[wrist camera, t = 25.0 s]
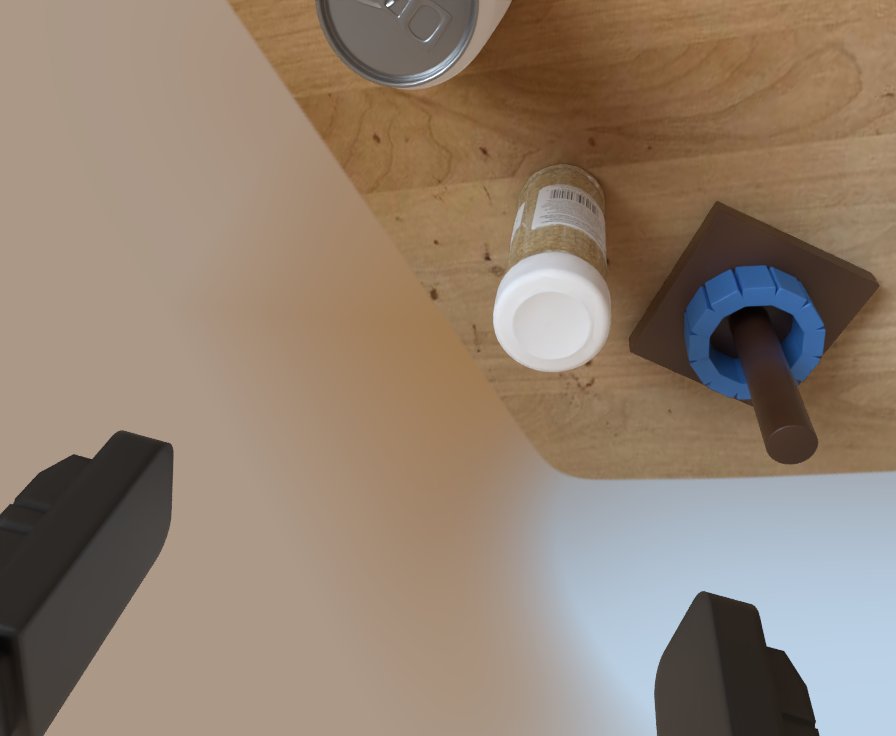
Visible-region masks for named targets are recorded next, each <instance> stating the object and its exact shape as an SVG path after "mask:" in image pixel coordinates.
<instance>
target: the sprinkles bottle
mask: <svg viewBox="0 0 896 736" xmlns="http://www.w3.org/2000/svg"><path fill="white" fill-rule="evenodd" d="M604 213H605V197H604V194H603V191H602V188H601V186H600V184H599V183H598V182H597V180H596V179H595V178H594V177H593V176H592V175H590V174H589V173H588V172H587V171H585V170H582V169H581V168H580V167H577V166H573V165H568V164H558V165H552V166H548V167H546V168H544V169H541V170H540V171H538V172H536V173H534V174H533V175H532V176H531V177H530V178H529V179H528V181H527V182H526V183H525V185H524V187H523V189H522V191H521V194H520V197H519V200H518V213H517V216H516V219H515V224H514V228H513V234H512V239H511V245H510V255H509V260H508V265H507V269H506V275H505V276H504V278H503V279H502V281H501V283H500V285H499V288H498V291H497V295H496V300H495V306H494V312H493V324H494V330H495V334H496V336H497V339H498V341H499V343H500V344H501V346H502V348H503V349H504V350H505V351H506V353H507V354H508V355H509V356H511V357H512V358H513V359H514V360H516V361H517V362H519V363H520V364H522V365H524V366H526V367H528V368H531V369H534V370H538V371H543V372H562V371H567V370H571V369H574V368H577V367H579V366H581V365H583V364H585V363H587V362H588V361H589V360H591V359H592V358H593V357H595V356H596V355H597V354H598V352H599V351H600V350H601V349H602V347H603V346H604V344H605V342H606V340H607V338H608V335H609V331H610V326H611V300H610V293H609V290H608V287H607V285H606V273H607V261H606V233H605V220H604Z"/></svg>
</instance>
